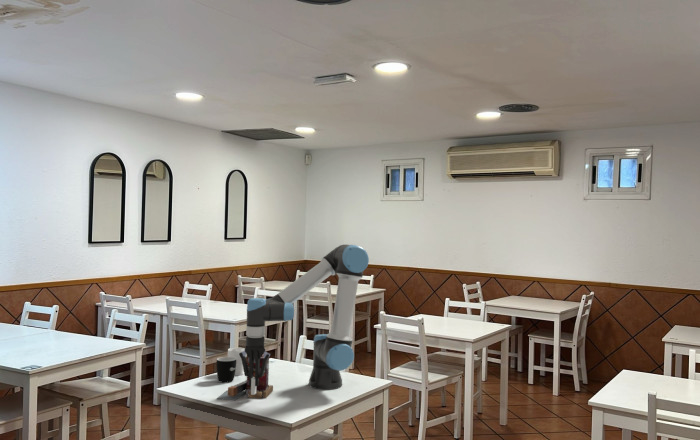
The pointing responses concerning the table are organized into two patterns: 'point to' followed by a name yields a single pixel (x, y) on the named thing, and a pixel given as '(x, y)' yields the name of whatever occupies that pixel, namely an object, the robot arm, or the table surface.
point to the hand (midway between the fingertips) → (253, 393)
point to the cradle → (259, 394)
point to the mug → (226, 369)
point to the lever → (237, 388)
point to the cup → (237, 359)
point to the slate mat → (226, 397)
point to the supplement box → (262, 380)
